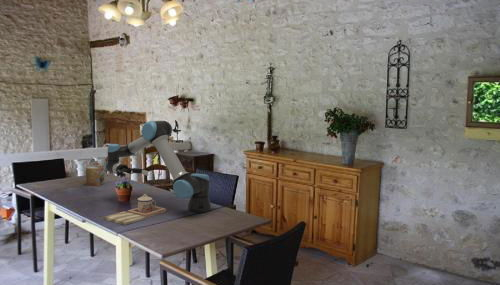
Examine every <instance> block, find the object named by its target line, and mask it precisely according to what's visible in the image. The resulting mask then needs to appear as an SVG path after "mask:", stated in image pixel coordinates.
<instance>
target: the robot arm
mask: <svg viewBox="0 0 500 285" xmlns="http://www.w3.org/2000/svg"><path fill="white" fill-rule="evenodd" d="M172 134H173V127H172V124H171V123H170V122H169V121H166V120H150V121H146V122H145V123H144V124H143V125H142V126H141V136H140V137H139V138H136V139H135V140H133V141H131V142H129V143H128V144H126V145H121V146H120V144H118V143H109V144H108V145H107V150H106V151H107V161H106V162H105V164H104V170H105V171H107V172H109V173H111V174H116V176H117V177H120V178H123V177H124V178H127V179H130V174H131V175H133V174H141V175H144V176H149V170H146V168H137V167H129V166H128V165H127V164H124V163H122V162H121V163H120V158H124V157H132V156H134V155H136V153H137V152H139V151H141V150H143V149H145V148H147V147H149V146H152V147H155V149H156V150H157V152H158V154H159V155H160V157H161V159H162V161H163V163H164V165H165V166H166V168H167V170H168V171H169V173H170V175H171V177H172V184H173V185H172V192H173V194H174V196H176V197H177V198H178V199H181V200H185V199H189V201H188V205H187V211H189V212H192V213H206V212H211V210H212V205H211V204H212V203H211V200H210V176H209V175H208V174H205V173H191V172H188V171H186V169H185V167H184V166H183V165H182V162H181V160H180V159H179V158H178V155H177V154H176V152H175V151H174V148H173V147H172V145H171V143H170V142H169V140H168V139H169V137H171V136H172Z"/></svg>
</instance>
